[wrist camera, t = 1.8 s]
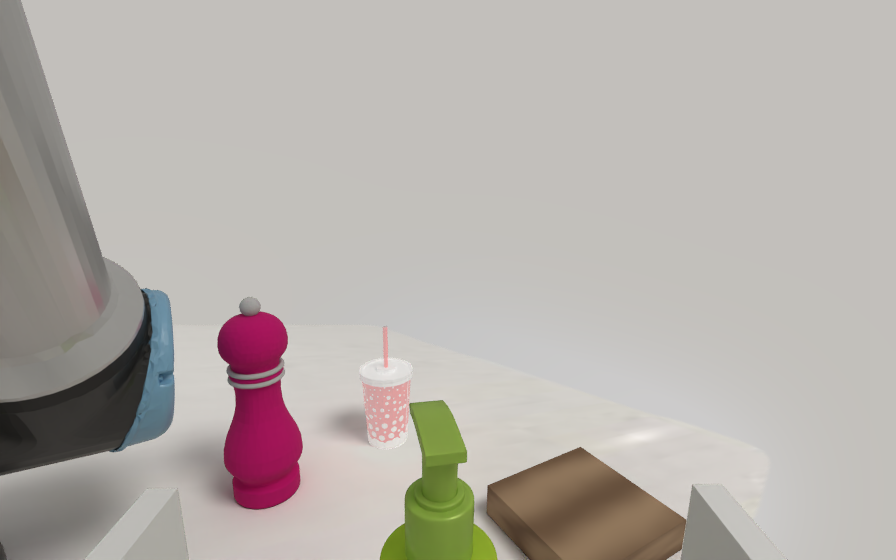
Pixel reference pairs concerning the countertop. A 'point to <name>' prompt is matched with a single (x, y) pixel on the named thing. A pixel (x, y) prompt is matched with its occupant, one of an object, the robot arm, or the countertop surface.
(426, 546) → the soap dispenser
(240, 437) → the pepper mill
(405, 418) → the beverage cup
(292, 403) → the countertop surface
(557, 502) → the plinth
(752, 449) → the countertop surface
